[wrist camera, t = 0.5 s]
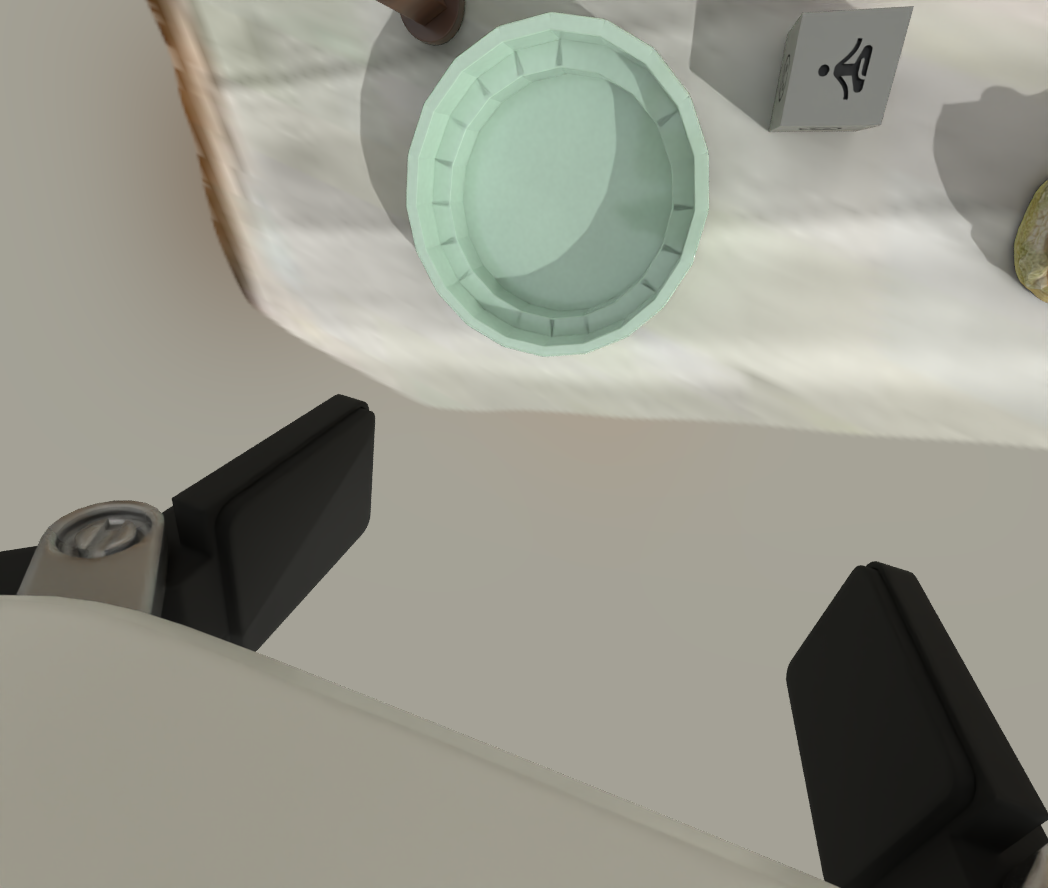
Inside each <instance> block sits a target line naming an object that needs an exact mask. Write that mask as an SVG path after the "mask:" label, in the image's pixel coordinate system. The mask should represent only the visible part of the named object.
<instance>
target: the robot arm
mask: <svg viewBox="0 0 1048 888" xmlns="http://www.w3.org/2000/svg"><path fill="white" fill-rule="evenodd" d="M374 431H375V415H374V413H373V412H372V411H369V407H368V404H367V403H366V402H363V401H360V400H357V399H354V398H351V397H347V396H344V395H340V394H337V395H335V396H333V397H332V398H330V399H329V400H327V401H325V402H324V403H322V404H320V405H319V406H317V407H316V408H314V409H313V410H311V411H309V412H308V413H306V414H305V415H303V416H301V417H300V418H298V419H297V420H295V421H294V422H292V423H290V424H289V425H287V426H286V427H284V428H282V429H281V430H279V431H278V432H276V433H275V434H273V435H271V436H270V437H268V438H267V439H265V440H263V441H262V442H260V443H259V444H257V445H256V446H254V447H252V448H251V449H249V450H247V451H246V452H244V453H243V454H241V455H240V456H238V457H236V458H235V459H233V460H232V461H230V462H228V463H227V464H225V465H224V466H222V467H221V468H219V469H217V470H216V471H214V472H213V473H211V474H209V475H208V476H206V477H205V478H203V479H202V480H200V481H199V482H197V483H195V484H194V485H192V486H190V487H189V488H187V489H186V490H184V491H182V492H181V493H179V494H178V495H176V496H175V497H173V498H172V502H173V506H172V507H170V508H169V509H167V510H166V511H164V512H163V513H161V512H160V511H159V510H158V509H157V508H155V507H153V506H151V505H149V504H147V503H143V502H137V501H109V502H104V503H97V504H93V505H90V506H87V507H84V508H81V509H78V510H75V511H73V512H71V513H69V514H67V515H65V516H63V517H61V518H60V519H59V520H57V521H56V522H55V523H54V524H52V525H51V526H49V528H48V529H47V530H46V532H45V533H44V534H43V536H42V537H41V539H40V541H39V544H38V546H34V547H27V548H21V549H14V550H9V551H2V552H0V888H1048V838H1047V836H1046V834H1045V832H1044V830H1043V828H1042V827H1041V824H1043V823H1044V822H1045V821H1047V820H1048V812H1047V810H1046V808H1045V807H1044V805H1043V803H1042V801H1041V800H1040V798H1039V796H1038V794H1037V792H1036V791H1035V789H1034V787H1033V785H1032V784H1031V782H1030V780H1029V778H1028V776H1027V775H1026V773H1025V771H1024V769H1023V767H1022V766H1021V764H1020V762H1019V761H1018V758H1017V757H1016V755H1015V753H1014V751H1013V749H1012V748H1011V746H1010V744H1009V742H1008V741H1007V739H1006V737H1005V735H1004V734H1003V732H1002V730H1001V728H1000V727H999V724H998V723H997V721H996V719H995V717H994V716H993V714H992V712H991V710H990V708H989V707H988V705H987V703H986V701H985V700H984V698H983V696H982V694H981V692H980V691H979V689H978V687H977V685H976V683H975V682H974V680H973V678H972V676H971V674H970V673H969V671H968V669H967V667H966V665H965V664H964V662H963V660H962V659H961V657H960V655H959V653H958V651H957V649H956V648H955V646H954V644H953V642H952V640H951V639H950V637H949V635H948V633H947V632H946V630H945V628H944V626H943V624H942V623H941V621H940V619H939V617H938V615H937V614H936V612H935V610H934V609H933V607H932V605H931V603H930V601H929V599H928V598H927V596H926V594H925V592H924V590H923V589H922V587H921V585H920V583H919V581H918V580H917V578H916V577H915V575H914V574H913V573H911V572H909V571H906V570H902V569H899V568H896V567H893V566H890V565H886V564H883V563H880V562H877V561H875V562H871V563H869V564H868V565H867V566H866V567H865V566H861V565H860V566H857V567H856V568H855V569H854V570H853V571H852V572H851V574H850V575H849V577H848V578H847V580H846V581H845V583H844V584H843V585H842V587H841V589H840V590H839V591H838V593H837V594H836V596H835V597H834V599H833V600H832V602H831V603H830V604H829V606H828V608H827V609H826V611H825V612H824V613H823V615H822V616H821V618H820V619H819V621H818V622H817V624H816V625H815V626H814V628H813V629H812V631H811V632H810V634H809V635H808V637H807V638H806V640H805V641H804V642H803V644H802V645H801V647H800V649H799V650H798V651H797V653H796V654H795V656H794V657H793V659H792V660H791V662H790V664H789V666H788V669H787V676H786V681H787V688H788V693H789V698H790V704H791V709H792V714H793V719H794V725H795V730H796V735H797V740H798V746H799V751H800V756H801V761H802V767H803V772H804V777H805V782H806V788H807V793H808V798H809V803H810V809H811V813H812V819H813V824H814V830H815V835H816V840H817V846H818V851H819V856H820V861H821V866H822V872H823V876H824V880H825V881H823V880H821V879H818V878H816V877H813V876H811V875H809V874H806V873H804V872H802V871H799V870H796V869H794V868H792V867H789V866H787V865H784V864H782V863H780V862H777V861H775V860H772V859H770V858H767V857H765V856H762V855H760V854H758V853H755V852H753V851H750V850H748V849H745V848H743V847H740V846H738V845H735V844H733V843H731V842H728V841H726V840H723V839H721V838H718V837H716V836H714V835H711V834H708V833H706V832H704V831H701V830H699V829H696V828H694V827H691V826H689V825H687V824H684V823H682V822H679V821H677V820H674V819H672V818H670V817H667V816H665V815H662V814H660V813H657V812H655V811H652V810H650V809H647V808H645V807H643V806H640V805H637V804H635V803H633V802H630V801H628V800H625V799H623V798H620V797H618V796H615V795H613V794H611V793H608V792H606V791H603V790H601V789H598V788H596V787H593V786H591V785H588V784H586V783H583V782H581V781H578V780H576V779H573V778H571V777H568V776H566V775H564V774H561V773H559V772H556V771H554V770H551V769H549V768H546V767H543V766H541V765H539V764H536V763H534V762H531V761H529V760H526V759H524V758H521V757H519V756H516V755H514V754H511V753H509V752H506V751H504V750H501V749H499V748H496V747H494V746H492V745H489V744H486V743H484V742H481V741H479V740H476V739H474V738H472V737H469V736H466V735H464V734H462V733H459V732H457V731H454V730H451V729H449V728H446V727H444V726H442V725H439V724H437V723H434V722H432V721H429V720H426V719H424V718H421V717H419V716H416V715H414V714H412V713H409V712H407V711H404V710H402V709H399V708H396V707H394V706H391V705H389V704H386V703H383V702H381V701H378V700H376V699H374V698H371V697H369V696H366V695H364V694H361V693H359V692H356V691H353V690H351V689H349V688H346V687H343V686H341V685H338V684H336V683H333V682H331V681H328V680H326V679H323V678H320V677H318V676H316V675H313V674H311V673H308V672H306V671H303V670H301V669H298V668H296V667H293V666H290V665H288V664H285V663H283V662H280V661H278V660H275V659H273V658H270V657H267V656H264V655H262V654H259V653H257V652H256V651H257V650H258V649H259V648H260V647H261V646H262V644H263V643H264V642H265V641H266V640H267V639H268V638H269V636H270V635H271V634H272V633H273V632H274V631H275V630H276V629H277V628H278V627H279V625H280V624H281V623H282V622H283V621H284V620H285V619H286V618H287V617H288V616H289V614H290V613H291V612H292V611H293V610H294V609H295V608H296V606H298V605H299V604H300V602H301V601H302V600H303V599H304V598H305V597H306V596H307V594H308V593H309V592H310V591H311V590H312V589H313V588H314V587H315V586H316V585H317V583H318V582H319V581H320V580H321V579H322V578H323V577H324V576H325V575H326V574H327V572H328V571H329V570H330V569H331V568H332V567H333V566H334V565H335V564H336V563H337V561H338V560H339V559H340V558H341V557H342V556H343V555H344V554H345V553H346V551H347V550H348V549H349V548H350V547H351V546H352V545H353V544H354V543H355V542H356V540H357V539H358V538H359V537H360V536H361V535H362V534H363V532H364V531H365V529H366V528H367V526H368V523H369V520H370V512H371V511H370V510H371V491H372V472H373V451H374Z"/></svg>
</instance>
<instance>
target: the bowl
mask: <svg viewBox="0 0 1048 888" xmlns="http://www.w3.org/2000/svg"><path fill="white" fill-rule="evenodd" d="M406 207H407V212H408V216H409V221H410V225H411V230H412V234H413V239H414V243H415V248H416V252H417V254H418V256H419V258H420V260H421V262H422V264H423V266H424V267H425V269H426V271H427V273H428V275H429V277H430V279H431V281H432V283H433V285H434V287H435V289H436V291H437V292H438V294H439V295H440V296H441V297H442V298H443V299H444V300H445V302H446V303H447V304H448V305H449V306H450V307H451V308H452V309H453V310H454V311H455V312H456V313H457V314H458V316H459V317H460V318H461V319H462V320H463V321H464V322H465V323H466V324H467V325H468V326H470V327H471V328H473V329H475V330H476V331H478V332H480V333H481V334H483V335H485V336H486V337H488V338H490V339H491V340H493V341H495V342H496V343H498V344H500V345H501V346H504V347H506V348H510V349H514V350H518V351H522V352H526V353H530V354H534V355H538V356H542V357H548V356H562V355H577V354H586V353H589V352H592V351H594V350H597V349H599V348H602V347H604V346H607V345H609V344H612V343H614V342H617V341H619V340H622V339H624V338H626V337H628V336H629V335H631V334H632V333H633V332H634V331H636V330H637V329H638V328H639V327H640V326H642V325H643V324H644V323H645V322H647V321H648V320H649V319H650V318H651V317H653V316H654V315H655V314H656V313H658V312H659V311H660V310H661V309H662V308H663V307H664V306H665V305H666V303H667V302H668V300H669V299H670V297H671V296H672V294H673V293H674V291H675V290H676V288H677V287H678V285H679V284H680V282H681V281H682V279H683V278H684V276H685V275H686V273H687V272H688V270H689V269H690V267H691V266H692V264H693V261H694V258H695V254H696V251H697V248H698V244H699V241H700V238H701V235H702V231H703V228H704V225H705V221H706V218H707V215H708V210H709V153H708V149H707V146H706V143H705V139H704V136H703V133H702V130H701V127H700V124H699V121H698V118H697V115H696V112H695V108H694V105H693V102H692V99H691V97H690V95H689V93H688V92H687V90H686V89H685V88H684V86H683V85H682V84H681V82H680V81H679V80H678V79H677V77H676V76H675V75H674V73H673V72H672V71H671V69H670V68H669V67H668V65H667V64H666V63H665V62H664V60H663V59H662V58H661V56H660V55H659V54H658V52H657V51H656V50H655V49H654V48H653V47H651V46H650V45H648V44H646V43H645V42H643V41H641V40H640V39H638V38H636V37H635V36H633V35H631V34H630V33H628V32H626V31H625V30H623V29H621V28H620V27H618V26H616V25H615V24H613V23H611V22H610V21H608V20H605V19H602V18H595V17H587V16H580V15H572V14H565V13H557V12H548V13H544V14H540V15H537V16H533V17H530V18H526V19H522V20H519V21H515V22H511V23H508V24H504V25H501V26H499V27H496V28H495V29H494V30H492V31H491V32H490V33H488V34H487V35H486V36H484V37H483V38H482V39H480V40H479V41H478V42H476V43H475V44H474V45H472V46H471V47H470V48H468V49H467V50H466V51H464V52H463V53H462V54H460V55H459V56H458V57H456V58H455V59H454V60H453V62H452V63H451V65H450V66H449V68H448V69H447V71H446V72H445V74H444V75H443V77H442V78H441V79H440V81H439V82H438V84H437V85H436V87H435V88H434V90H433V91H432V93H431V94H430V96H429V97H428V98H427V100H426V101H425V104H424V105H423V108H422V111H421V115H420V118H419V121H418V124H417V127H416V130H415V133H414V137H413V140H412V143H411V146H410V149H409V152H408V164H407V191H406Z"/></svg>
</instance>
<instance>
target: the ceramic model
mask: <svg viewBox="0 0 1048 888" xmlns="http://www.w3.org/2000/svg"><path fill="white" fill-rule="evenodd" d="M1014 265H1015V271H1016V274H1017V276H1018V279H1019V280H1020V282H1021V283H1022V284H1023V285H1024V286H1025V287H1026V288H1027V289H1028V290H1030V291H1031V292H1032V293H1033V294H1034V295H1035V296H1036V297H1038V298H1039V299H1040V300H1042V301H1044V302H1047V303H1048V180H1047V181H1045V182H1044V184H1043V185H1041V186H1040V188H1039V189H1038V190H1037V191H1036V193H1035V194H1034V196H1033V199H1032V200H1031V202H1030V204H1029V206H1028V208H1027V210H1026V213H1025V215H1024V217H1023V220H1022V222H1021V225H1020V227H1019V229H1018V233H1017V236H1016V239H1015V244H1014Z"/></svg>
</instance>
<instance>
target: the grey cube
mask: <svg viewBox="0 0 1048 888" xmlns="http://www.w3.org/2000/svg"><path fill="white" fill-rule="evenodd" d="M913 7H914V6H910V7H893V8H875V9H858V10H841V11H823V12H806V13H802V15H801V16H800V18H799V19H798V20H797V22H796V23H795V25H794V26H793V27H792V29H791V30H790V32H789V33H788V35H787V40H786V45H785V50H784V56H783V61H782V66H781V71H780V76H779V81H778V87H777V92H776V97H775V102H774V107H773V113H772V118H771V123H770V128H769V132H809V131H858V130H862V129H867V128H871V127H875V126H879V125H881V123H882V119H883V115H884V112H885V108H886V105H887V101H888V97H889V94H890V90H891V87H892V83H893V79H894V76H895V72H896V68H897V65H898V61H899V58H900V54H901V50H902V47H903V43H904V40H905V36H906V32H907V29H908V25H909V22H910V18H911V14H912V11H913Z"/></svg>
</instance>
